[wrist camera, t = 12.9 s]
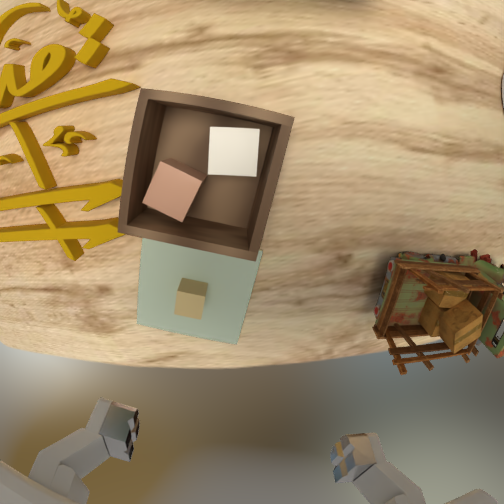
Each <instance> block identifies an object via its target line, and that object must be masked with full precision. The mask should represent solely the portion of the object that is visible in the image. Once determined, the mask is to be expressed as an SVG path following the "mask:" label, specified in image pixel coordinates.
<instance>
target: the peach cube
mask: <svg viewBox="0 0 504 504" xmlns="http://www.w3.org/2000/svg"><path fill="white" fill-rule="evenodd" d="M206 177H207V175H206V174H204V173H202V172H199V171H197V170H195V169H193V168H191V167H189V166H187V165H185V164H183V163H181V162H179V161H177V160H175V159H173V158H169V159H165V160H162V161H160V163H159V165H158V168H157V170H156V172H155V174H154V176H153V179H152V181H151V183H150V185H149V188H148V190H147V192H146V195H145V197H144V200H143V202H142V203H144V204H146V205H148V206H150V207H152V208H154V209H156V210H158V211H160V212H162V213H164V214H166V215H168V216H170V217H172V218H174V219H176V220H178V221H180V222H183V220H184V219H185V217H186V216H187V214H188V213H189V211H190V209H191V207H192V205H193V203H194V201H195V199H196V197H197V195H198V193H199V191H200V189H201V187H202V185H203V183H204V181H205V179H206Z"/></svg>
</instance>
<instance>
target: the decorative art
mask: <svg viewBox="0 0 504 504" xmlns="http://www.w3.org/2000/svg"><path fill="white" fill-rule="evenodd" d="M46 11H50V9H49V8H48V7H46V6H44V5H42V4H40V3H26V4H22V5H19V6H16V7H14V8H12V9H10V10H8V11H7V12H5V13H4V14H3V15H1V16H0V44H1V42H2V39H3V37H4V35H5V34H6V32H7V31H8V29H9V28H10V27H11V26H12V24H13V23H14V22H15V21H17V20H18V19H19V18H20V17H22V16H24V15H26V14H28V13H33V12H46ZM57 11H58V14H59V15H60V16H61V17H63V18H65V21H66V22H68V23H70V24H72V25H74V26H76V27H78V28H79V26H80V24H84V23H86V25H85V26H84V27H83V28H82V29H81V30H80V32H79V33H80V34H81V35H82V36H84V37H86V38H88V40H87V41H86V43H85V44H84V46H83V47H82V48H81V50H80V51H79V52H78V54H77V55H76V53H75V52H74V51H73V50H72V49H69V48H67V47H64V46H62V45H59V44H51V45H47V46H45V47H43V48H42V49H40V50H39V51H38V52H37V53H36V54H35V56H34V57H33V59H32V62H31V68H30V81H29V82H28V83H27V82H26V77H25V68H24V67H25V66H22V65H16V64H4V67H3V70H2V74H1V77H0V108H8V107H10V106H11V105H12V103H13V100H14V97H15V96H17V97H34V96H36V95H38V94H40V93H41V92H43V91H45V90H46V89H48V88H49V87H51V86H52V85H54V84H55V83H56V82H58V81H59V80H60V79H61V78H63V77H64V76H65V75H66V74H67V73H68V72H69V71H70V70H71V68H72V67H73V65H74V63H75V60H76V59H77V60H78V61H80V62H81V63H83V64H86V65H88V66H91V67H94V68H96V67H97V66H98V65H99V64H100V62H101V61H102V60H103V58H104V57H105V55H106V54H107V52H108V51H109V50H110V48H108V47H107V46H105V45H103V44H101V43H100V42H101V41H102V40H103V39H104V38H105V36H106V35H107V34H108V33H109V31H110V30H111V29H112V27H113V26H114V25H113V24H112V23H110V22H109V21H108V20H107V19H105V18H103V17H101V16H99V15H97V14H95V13H94V14H93V15H92V17H91V15H90V14H88V13H87V12H85V11H84V10H83V9H81V8H80V7H75V8H73V9H72V10H71V11H70V10H69V4H68V3H67V2H65V1H63V0H57ZM22 44H30V45H31V43H29V42H27V41H24V40H20V39H17V38H13V39H10V40H8V41H7V42H6V43H5V45H4V47H5V48H9V49H14V50H20V48H19V46H20V45H22ZM137 88H140V87H139V86H137V85H135V84H133V83H129V82H125V81H120V80H116V79H112V78H111V79H108V80H105V81H102V82H99V83H96V84H92V85H89V86H85V87H81V88H77V89H73V90H70V91H66V92H62V93H59V94H55V95H52V96H48V97H45V98H42V99H39V100H36V101H33V102H30V103H27V104H24V105H21V106H19V107H16V108H13V109H11V110H8V111H6V112H3V113H1V114H0V128H1V127H4V126H6V125H9V124H10V125H11V127H12V129H13V131H14V132H15V134H16V137H17V139H18V141H19V143H20V145H21V147H22V150H23V152H24V154H25V157H26V159H27V161H28V163H29V166H30V168H31V170H32V172H33V174H34V176H35V178H36V181H37V183H38V185H39V187H41V188H42V189H45V190H41V191H35V192H29V193H24V194H18V195H13V196H8V197H3V198H0V211H3V210H10V209H16V208H23V207H31V206H38V205H40V206H38V207H36V208H37V210H38V211H39V212H40V214H41V215H42V217H43V218H44V220H45V221H46V223H47V224H35V225H23V226H12V227H2V228H0V242H13V241H37V240H58V242H59V243H60V245H61V247H62V248H63V250H64V252H65V253H66V255H67V257H68V258H70V259H72V260H74V261H76V260H77V259H78V258H79V257H80V256H81V255H83V254H84V251H83V249H82V248H86V249H90V248H93V247H95V246H98V245H100V244H102V243H105V242H107V241H110V240H112V239H115V238H117V237H120V236H123V235H125V234H123V233H118V220H119V218H118V217H116V218H110V219H105V220H92V221H76V222H66V220H65V219H64V217H63V215H62V214H61V213H60V211H59V210H58V208H57V207H56V206H55V205H54V203H63V202H72V201H82V200H90V201H89V202H88V203H87V204H86V205H85V206H84V207H83V208H82V209H81V211H90V210H92V209H94V208H96V207H98V206H100V205H102V204H104V203H107V202H109V201H111V200H113V199H116V198H118V197H120V196H121V192H122V185H123V180H121V179H115V180H111V181H106V182H100V183H92V184H83V185H76V186H68V187H61V188H54V189H50V188H52V187H55V186H57V184H56V181H55V179H54V177H53V175H52V172H51V170H50V168H49V166H48V163H47V161H46V159H45V157H44V154H43V152H42V150H41V148H40V146H39V143H38V141H37V139H36V137H35V135H34V133H33V132H32V130H31V128H30V126H29V125H28V123H27V122H25V121H21V122H17V121H20V120H23V119H26V118H30V117H32V116H35V115H38V114H42V113H45V112H48V111H51V110H54V109H58V108H61V107H65V106H69V105H72V104H76V103H80V102H84V101H89V100H93V99H97V98H102V97H107V96H112V95H117V94H122V93H125V92H129V91H132V90H135V89H137ZM74 130H75V128H74V126H58V127H56V128H55V129H54V136H53V137H52V138H51V139H50V140H49V141H47V142H46V143H44V144H43V146H53V147H58V148H61V149H62V150H63V154H62V155H61V156H64V157H65V156H71V155H76V154H78V153H79V148H78V146H77V145H76V144H74V143H81V142H82V141H81V138H83V139H85V140H95V139H97V138H96V137H95V136H94V135H92V134H91V133H88V132H85V131H74ZM64 141H65V142H66V143H63V142H64ZM21 161H24V160H23V159H22V158H21V157H20V156H19V155H17V154H8V155H3V156H0V165H4V164H8V163H12V164H13V163H17V162H21ZM47 189H48V190H47ZM77 239H90V240H89V241H88V242H87V243H86V244H85V245H84V246H83V247H81V245H80V243H79V242H78V240H77Z"/></svg>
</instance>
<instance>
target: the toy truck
mask: <svg viewBox="0 0 504 504" xmlns="http://www.w3.org/2000/svg"><path fill="white" fill-rule="evenodd" d="M398 257H399V258H396V257H391V259H390V261H389V263H388V269H387V273H386V276H385V280H384V283H383V286H382V290H381V293H380V296H379V299H378V302H377V305H376V306H375V308H374V314H375V316H376V322H375V325H374V326H373V327H372V328H373V330H374V332H375V334H376V337H377V339H387V342H388V344H389V346H390V348H388V350H389V353H390V355H393V356H394V359H393V360H392V362H393V365H397V366H398V369H399V372H400V374H401V375H403V374H406V373H407V370H406V368H405V365H404V364H406V363H413V362H421V361H422V362H423V363H424V364H425V365H426V367H427V368H428V369H429V371H430V370H432V369H433V368H434V366H433V365H432V364H431V363H430V361H429V360H433V359H440V358H446V357H452V356H457V355H462V357H463V358H464V360H465V362H466V363H468V362H469V361H470V360H469V358H468V356H467V355H466V354H467V353H468V355H470V353H471V351H472V352H473V354H474V355H475V356H477V354H478V352H479V351H478V350H477V349H476V348H475V345H476V346H479V345H481V343H483V344H484V345H485V346H486V347H487V348H488V349H489V350H490V351H491V352H492V353H493V355H495V356H496V358H500V357H503V356H504V333H503V335H502V336H501V338H500V340H498V339H497V337H498V336H497V337H496V333H497V331H498V329H499V328H500V326H501V324H502V322H503V320H504V286H503V285H502V283H504V265H503V264H502V265H501V266H500V268H498V267H496V266H495V265H493V264H491V258H490V255H489V254H486V255H482V256H480V259H479V260H478V261H477V250H475V249H474V250H472V251H471V256H460V257H459V259H458V260H457V259H455V258H454V257H451V256H445V255H444V254H441V255H433V254H427V255H426V257H425V256H423V255H421V254H418V253H414V252H402V253H399V254H398ZM428 335H430V337H437V336H440V337H441V339H442V340H443V341H444V342H443V343H434V344H426V345H418V346H416V344H415V343H414V342H413V341H412V340H411V338H410V337H417V336H428ZM392 338H404V339H405V340H406V341H407V343H408V344H409V345H410V346H408V347H398V348H397V347H396V345H395V343H394V341H393V339H392ZM493 342H494V343H495V344H496V345H497V346H496V347H495V346H494V345H493ZM467 345H468V348H467V349H462V348H464V347H465V346H467ZM448 349H451V351H452V352H446V353H440V354H433V355H426V356H425V355H424V354H423V353H422V352H431V351H440V350H448ZM410 353H416V354H417V355H418V357H411V358H402V359H401V356H400V354H410Z"/></svg>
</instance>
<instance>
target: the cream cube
mask: <svg viewBox="0 0 504 504" xmlns="http://www.w3.org/2000/svg"><path fill="white" fill-rule="evenodd" d="M259 132H260V129H251V128H232V127H210V138H209V159H208V174H209V175H235V176H253V177H256V175H257V160H258V146H259Z"/></svg>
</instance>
